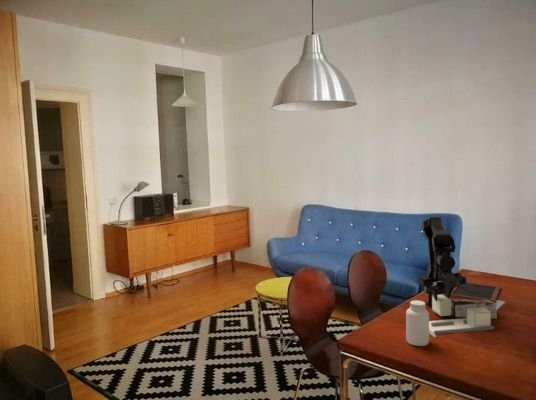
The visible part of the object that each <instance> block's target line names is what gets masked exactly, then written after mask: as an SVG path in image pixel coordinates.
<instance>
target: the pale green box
mask: <svg viewBox="0 0 536 400" xmlns="http://www.w3.org/2000/svg"><path fill="white" fill-rule="evenodd" d="M450 299H451V298H447V297H446V295H445V294H441V295H437V301H435V299H434V297H433V295H432V308H431V311H433V312H434V313H436V314H437V315H438V316H440V317H446V316H452V313H451V300H452V299H451V300H450Z"/></svg>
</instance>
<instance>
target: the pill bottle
mask: <svg viewBox="0 0 536 400" xmlns="http://www.w3.org/2000/svg"><path fill="white" fill-rule="evenodd" d="M425 302H426V301H423V300H411V301H410V303H409V308H407V309H406V312H405V321H406V322H405V324H406V325H405V334H406V335H405V340H406V342H407V343H408V344H409V345H412V346H416V347H423V346H427V345H428V344H429V343H430V333H429V321H430V313H429V311H428V310H427V309H426V306H427V305H426V304H425Z"/></svg>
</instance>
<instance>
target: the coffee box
mask: <svg viewBox="0 0 536 400" xmlns="http://www.w3.org/2000/svg"><path fill="white" fill-rule="evenodd" d="M449 299H450V300H451V315H452V316H453V317H455V318H467V309H468V308H481V307H484V308H486V309H488V310H490V311H491V319H498V315H497V312H498V311H497V303H496V302H495V303H494V302H491V301H488V300H468V299H451V298H449Z"/></svg>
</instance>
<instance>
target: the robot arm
mask: <svg viewBox="0 0 536 400" xmlns="http://www.w3.org/2000/svg"><path fill="white" fill-rule="evenodd" d="M421 231H422V233H423V236H424V238H425V239H426V241H427V253H428V267H429V268H428V269H429V272H428V274H427V275H424V276H423V275H422V276H419V277H418V278H417V284H419V285H421V286H422V287H423V291H424V292H425V294H427V301H424V302H425V304H426V306H428V307H429V308H431V309H432V295H433V297H434V299H435V301H437V295H441V294H442V295H445V297H447V298H449V299H451V297H450V295H451V293H452V291H453V289H454V288H455V287H457V286H459V285H458V284H457V282H458V283H459V284H467V282H468V281H467V280H468V279H467V278H466V276H463V275H462V274H461V272H453V269H454V268H455V266H456V260H455V258H454V257H453V256H452V254H451V253H455V251H456V248H457V247H456V243H455V239H454V238H453V236H452V234H451V233H450V232H449V231H447V230H445V228H444V226H443V221H442V218H441V217H439V216H430V217H428V218H427V219H425V220H423V221H422V224H421Z"/></svg>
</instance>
